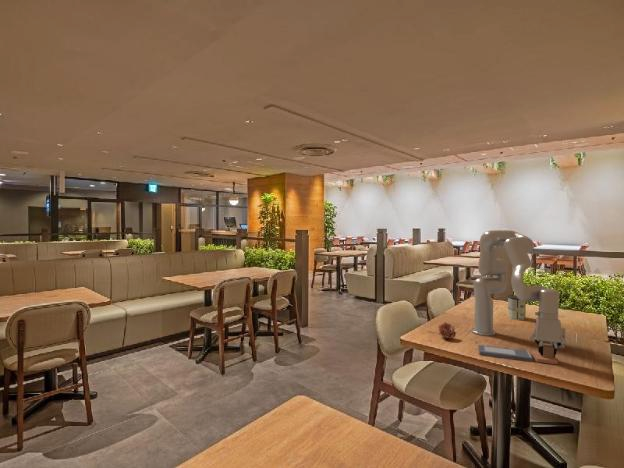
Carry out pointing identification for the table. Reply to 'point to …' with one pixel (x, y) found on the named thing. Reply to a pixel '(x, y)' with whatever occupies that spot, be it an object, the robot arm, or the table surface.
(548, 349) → the stub
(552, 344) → the printed box
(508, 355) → the ticket board
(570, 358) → the table surface
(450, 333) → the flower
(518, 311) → the coffee can
